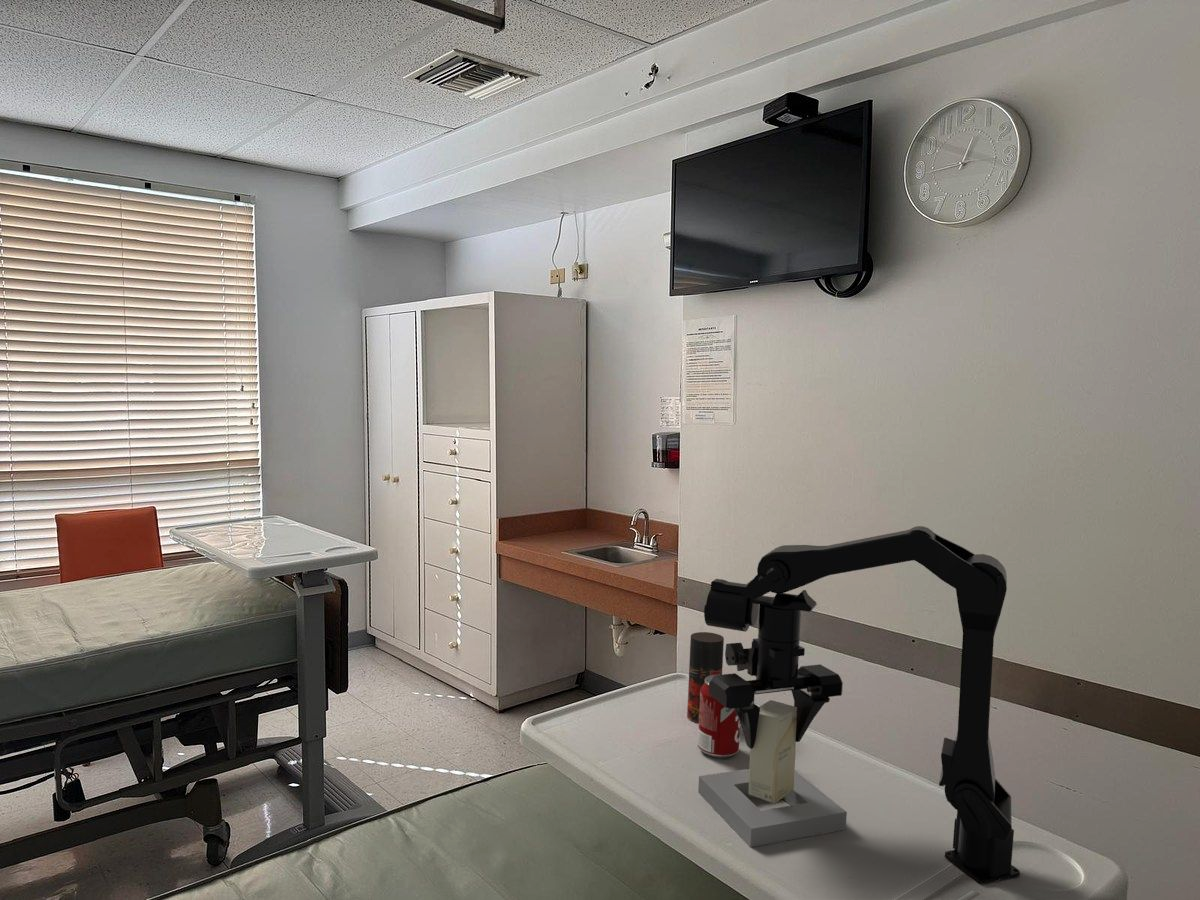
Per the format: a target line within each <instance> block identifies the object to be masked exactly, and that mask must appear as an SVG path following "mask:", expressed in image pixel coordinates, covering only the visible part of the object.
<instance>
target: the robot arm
mask: <svg viewBox="0 0 1200 900" xmlns="http://www.w3.org/2000/svg"><path fill="white" fill-rule="evenodd" d="M911 561H912V562H913V561H915V562H916V563H918V564H920V565H921V566H923V567H924V568H926V569H927V571H930V572H931V573H932V574H933V575H935V576H936V577H937V578H938V579H940V580H941V581H942V582H944V583H945V584H947V585H949V586H950V587H952V588H953V589H955V592H956V599H957V606H958V612H959V618H960V622H961V627H962V628H961V629H962V643H961V644H962V645H961V660H960V661H961V663H960V680H959V699H958V700H959V702H958V716H957V718H958V719H957V732H956V735H955V739H952V738H949V737H943V742H942V746H941V747H942V748H941V754H940V758H941V759H940V762H941V769H940V771H941V772H940V775H939V782H938V783H939V784H938V785H939V787H943V786H944V795H945V799H946V801H947V802H948V803H949V804H950V805H951V806H952V807H953V808H954V809H955V810H956V817H955V818H954V827H953V838H952V840H953V841H952V849H953V850H948V851H944V857H945V858H946V859H947V860H949V861H950V862H951V863H953V864H954V866H955V865H956V867H958V868H959V869H960V870H961V871H963V872H964V873H966V874H967V875H969V876H970V877H971V878H973V880H975V881H976V882H978V883H979V884H983V885H985V884H990V883H993V882H998V881H1003V880H1006V879H1007V880H1008V879H1011V878H1016V877H1020V875H1021V871H1020V870H1019V868H1017V867H1015V866H1014V865H1013V864H1012V861H1013V860H1012V859H1013V848H1014V847H1013V846H1014V833H1015V830H1014V829H1013V828H1012V827H1013V826H1012V823H1013V822H1012V821H1013V820H1012V819H1013V818H1012V815H1013V814H1012V811H1013V810H1012V796H1011V794H1010V793H1009V792H1008V791H1007V790H1006V789H1005V787H1003V785H1002V784H1001V782H1000V781H999V780H997V778H996V772H995V764H994V757H993V749H992V745H991V740H990V733H989V732H990V731H989V730H990V729H989V727H990V710H991V694H992V676H993V672H992V671H993V658H994V657H993V656H994V643H995V642H994V639H995V638H994V637H995V634H996V630H997V627H998V624H999V620H1000V616H1001V613H1002V610H1003V605H1004V602H1005V598H1006V594H1007V590H1008V589H1007V586H1008V577H1007V571H1006V568H1005V566H1004V565H1003V564H1002V563H1001V562H1000V561H999V560H998V559H997V558H995V557H994V556H992V555H988V554H983V553H979V554H975V553H973V552H972V551H970V550H968V549H967V548H965V547H964V546H961V545H960V544H958V543H955V542H953V541H950V540H949V539H947V538H945V537H942V536H940V535H939V534H937V533H935V532H933V530H932V529H930V528H929V527H926V526H923V525H919V526H918V525H917V526H913V527H911V528H909V529H907V530H906V529H905V530H901V531H897V532H890V533H886V534H881V535H880V534H879V535H874V536H870V537H865V538H859V539H854V540H849V541H845V542H844V541H843V542H839V543H834V544H829V545H811V544H787V545H784V544H783V545H780V546H777V547H775V548H774V549H773V550H771V551H769V552H767V553H766V554H765V555H764V556H762V557H761V558H760V560H759V561H758V563H757V564H758V565H757V567H756V571H757V574H756V575H755V576H754V578H752V579H751V580H750V581H748V582H747V583H742V582H741V583H740V582H734V581H728V580H726V579H721V578H716V579H714V580H712V581H711V582H710V589H709V592H708V593H707V598H706V604H705V605H704V609H703V611H704V613H703V616H704V623H705V624H706V626H709V627H715V628H719V629H720V628H721V629H727V630H734V631H739V632H744V633H746V632H747V631H748V630H749V627H750V626H755V625H756V624H757V622H758V633H757V638H752V641H751V647H747V648H744V647H743V643H742V642H732V643H726V644H725V651H724V652H725V653H724V656H725V662H726V663H725V664H726V665H727V666H736V670H737V672H742V671H744V670H747V675H750V676H751V677H753V676H754V677H755V679H752V680H746V679H745V678H743V677H741V676H740V675H738V674H737V673H724V674H722V675H714V676H713V678H712V679H711V680H710V682H709V695H711V696H712V697H713V698H715V699H716V700H717V701H718V702H720V703H721V704H722V705H724V706H725V707H726V708H731V709H735V711H736V713H737V716H738V718H739V721H740V728H741V730H742V734H743V736H744V740H745V741H744V742H745V743H746V746H747V747H748V748H749V749H753V747H754V744H755V740H756V733H757V726H758V719H759V713H760V706H758V705H757V704H756V703H755V695H760V694H763V695H764V694H772V693H779V692H780V693H781V692H786V691H791V694H792V697H793V703H794V704H793V706H795V707H797V721H796V743H800V741H801V740H802V739H803V737H804V735H805V733H806V732H807V730H808V729H809V727H810V725H811V723H812V722H813V721H814V719H815V717H816V716H817V714H818V713H819V711H821V710H822V707H823V706H825V704H827V703H830V701H831V700H830V698H831V697H840V696H842V695H843V685H844V682H843V679H842V678H841V676H840V674H839V673H836V672H835V671H833V670H831V669H830V668H828V667H826V666H824V665H822V664H812V665H800V667H799V658H800V657H804V656H805V653H806V652H805V648H804V647H802V646H800V641H801V639H800V637H801V617H802V612H807V613H808V612H812V610H814V608H815V607H816V606H817V604H818V603H817V602H816V600H815V599H813V598H812V597H811V596H810V595H809V593H808V591H807V590H806V589H803V590H802V591H801V592H800V593H798V594H794V593H793V594H792V593H788V592H790V591H793V590H795V589H799V588H802V587H803V586H806V585H808V584H812V583H814V582H816V581H818V580H821V579H822V578H825V577H828V576H833V575H839V574H844V573H849V572H856V571H860V570H866V569H867V570H868V569H872V568H873V569H874V568H877V567H883V566H889V565H894V564H899V563H900V564H901V563H905V562H911ZM768 593H774V594H775V596H767V595H766V594H768ZM757 620H758V621H757Z"/></svg>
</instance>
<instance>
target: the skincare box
mask: <svg viewBox="0 0 1200 900" xmlns="http://www.w3.org/2000/svg"><path fill="white" fill-rule="evenodd" d="M759 707H760V713H759V719H758V726H757V733H756V740H755V744H754V747H753V749H750V748H749V749H750V751H749V768H748V769H749V795H752V796H755V797H754V798H758V799H760V800H764V801H766V802H769V803H773V804H777V803H778V802H779V801H781V800H782V799H783V797H784V796H786V795H787V794H788V793H789V792H791V791H792V790H793V789H794V772H795V771H796V769H795V767H796V747H797V746H796V743H797V742H796V721H797V707H795V706H794V705H791V704H786V703H783V702H779V701H776V700H773V699H770V700H769V701H767V702H765V703H763V704H761V705H759Z"/></svg>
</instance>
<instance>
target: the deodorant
mask: <svg viewBox="0 0 1200 900" xmlns="http://www.w3.org/2000/svg"><path fill="white" fill-rule="evenodd" d="M724 640H725V638H724V636H723V635H721V634H718V633H715V632H714V633H713V632H707V631H706V632H705V631H700V632H693V633H692V634H691V635H690V643H689V662H688V663H689V664H688V665H689V667H688V684H687V685H688V688H687V689H688V690H687V708H686V711H687V712H686V717H687V719H688V721H690V722H693V723H695V724H697V725H699V708H700V689H701V687H702V686H703V685H704V683H705V678H706V677H708V676H711V675H723V667H724V666H723V664H724V661H723V660H724V644H725V641H724Z"/></svg>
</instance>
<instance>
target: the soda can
mask: <svg viewBox="0 0 1200 900" xmlns="http://www.w3.org/2000/svg"><path fill="white" fill-rule="evenodd" d="M713 676H714V675H711V676H708V677H706V678H705V683H704V685H703V686H702V687H701V689H700V708H699V724H698V731H697V733H698V734H697V748H698V750H700V751H701V752H702V753H704V754H705V755H707V756H709V757H713V758H716V759H725V758H729V757H732V756H734V755H737V753H739V751H740V736H741V724H740V721H739V718H738V716H737V713H736V711H735V709H731V708H726V707H725V706H724V705H722V704H721V703H720V702H718V701H717V700H716V699H715V698H713V697H712V696H711V695H709V682H710V680H711V679H712V678H713Z"/></svg>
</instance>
